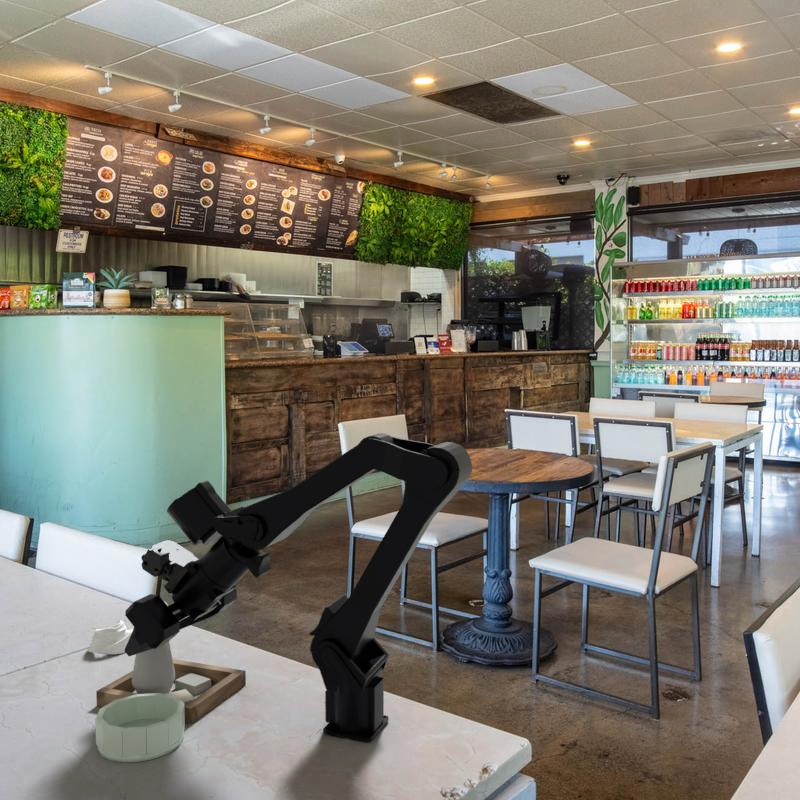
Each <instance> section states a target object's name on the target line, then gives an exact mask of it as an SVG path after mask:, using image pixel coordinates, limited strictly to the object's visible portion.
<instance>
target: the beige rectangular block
mask: <svg viewBox="0 0 800 800" xmlns="http://www.w3.org/2000/svg"><path fill="white" fill-rule="evenodd" d="M167 695H172V696H176V697H177V698H178V699H180V700H181V701H182V702H186V703H189V702H191V701H192V700H194V699H195V698H196V697H194V695H192V694H190V693H189V692H188V691H187V690H186V689H183V690H175V691H172V692H171V691H170V692H169V693H167Z"/></svg>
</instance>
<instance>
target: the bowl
mask: <svg viewBox="0 0 800 800" xmlns="http://www.w3.org/2000/svg"><path fill="white" fill-rule="evenodd" d="M94 722H95V744H96V746H97V753H98V754H99V755H100V756H101V757H102V758H104V759H106V760H109V761H112V762H116V763H117V762H118V763H138V762H145V761H150V760H154V759H157V758H160V757H162V756H165V755H167V754H169V753H171V752H173V751H174V750H176V749H177V748H178V747H180V745H181V744H182V743H183V742H184V739H185V727H186V725H185V724H186V723H185V709H184V702H182V701H181V700H180V699H178V698H177V697H176V696H172V695H167V694H161V693H148V694H135V695H132V696H128V697H124V698H121V699H117V700H114V701H113V702H111V703H109V704H108V705H106V706H104V707H101V708H99V710H98V713H97V714H96V717H95V721H94Z"/></svg>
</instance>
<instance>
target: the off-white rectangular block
mask: <svg viewBox="0 0 800 800" xmlns="http://www.w3.org/2000/svg"><path fill="white" fill-rule="evenodd" d="M211 687H212V683H211V679H209V678H206V677H203V676H200V675H197V674H194V673H190V674H187V675H185V676H183V677H180V678H179V677H177V678H175V681H174V688H175V689H174V690H177V691H179V690H183V689H186V690H187V691H188V692H189V693H190V694H191V695H192V696H196V695H199V694H202V693H204V692H206V691H207V690H208V689H210V688H211Z"/></svg>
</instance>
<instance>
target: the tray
mask: <svg viewBox="0 0 800 800" xmlns="http://www.w3.org/2000/svg"><path fill="white" fill-rule="evenodd" d="M172 659H173V665H174V670H175V678H180V677H183V676H185V675H187V674H190V673H194V674H197V675H200V676H203V677H206V678H209V679H211V684H213V686H211V688H210V689H207V690H205V691H203V692H202V693H200V695H198V696H197V697H194V698H195V699H194V700H192V701H191V702H189V703H186V702H184V709H185V724H191V725H193V724H194V723H195V722H196V721H197V720H198V721H199V720H200V718H202V717H204V716H205V715H206V714H207V713H209V712H210V711H211V710H213V709H214V708H216V707H218V706H219V705H221V703H223V702H224V701H225V700H227V699H228V698H229V697H230V696H232V695H233V694H235V693H236V692H238V691H239V690H240V689H242V688H243V687H244V686H246V684H247V682H246V681H247V680H246V679H247V677H246V676H247V675H246V670H243V669H237V668H230V667H226V666H218V665H212V664H207V663H201V662H200V663H199V662H195V661H194V662H193V661H187V660H181V659H175V658H172ZM132 675H133V670H132V671H129V672H128V673H126V674H124V675H123V676H121V677H119V678H117V679H115V680H114V681H112V682H110V683H108V684H107V685H105V686H103V687H102V688H100V689H97V690H96V706H97V707H101V708H102V707H104V706H106V705H108V704H109V703H111V702H113V701H114V700H117V699H121V698H124V697H128V696H132V695H135V694H137V692H133V691H134V690H135V689H134V687H133V686H132Z"/></svg>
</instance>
